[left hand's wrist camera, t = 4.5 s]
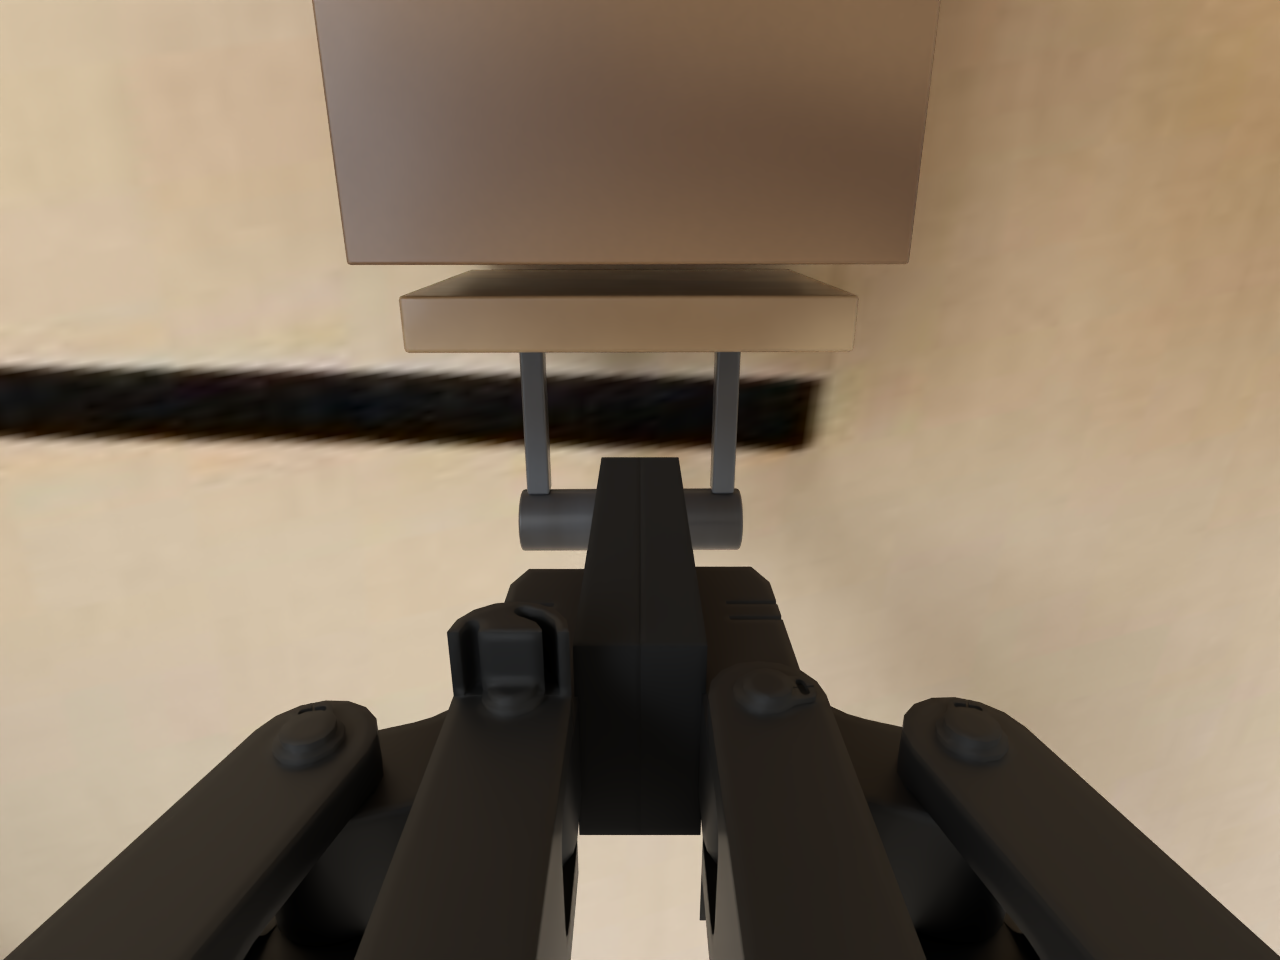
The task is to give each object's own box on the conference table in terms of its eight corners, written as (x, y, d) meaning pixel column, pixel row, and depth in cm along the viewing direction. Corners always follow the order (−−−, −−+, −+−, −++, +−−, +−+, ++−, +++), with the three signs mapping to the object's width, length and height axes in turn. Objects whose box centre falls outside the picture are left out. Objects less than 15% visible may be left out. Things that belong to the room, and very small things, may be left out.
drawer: (775, 493, 25) (829, 600, 18) (486, 494, 25) (431, 602, 18) (833, -358, 17) (962, -724, 10) (419, -361, 17) (281, -732, 10)
